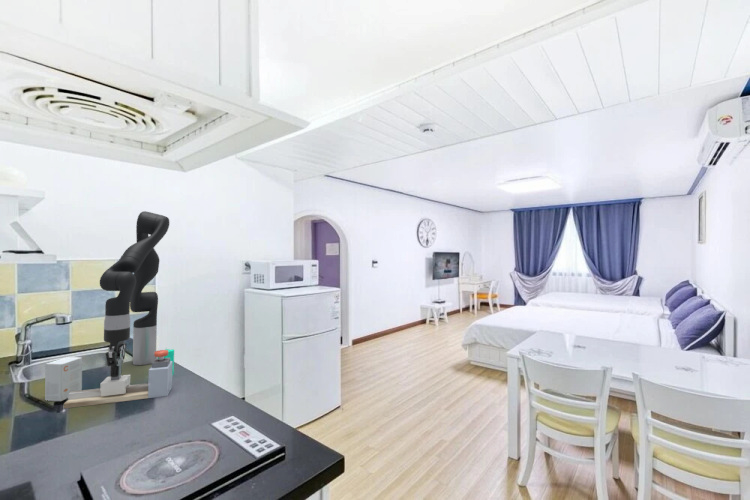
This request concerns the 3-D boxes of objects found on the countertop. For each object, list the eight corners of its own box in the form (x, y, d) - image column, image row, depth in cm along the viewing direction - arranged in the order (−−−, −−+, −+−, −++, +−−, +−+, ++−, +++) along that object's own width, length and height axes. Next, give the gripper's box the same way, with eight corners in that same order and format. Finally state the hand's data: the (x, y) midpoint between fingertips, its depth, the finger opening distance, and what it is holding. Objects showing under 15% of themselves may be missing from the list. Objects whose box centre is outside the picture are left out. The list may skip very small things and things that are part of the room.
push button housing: (154, 388, 131) (154, 357, 131) (171, 386, 133) (172, 355, 133) (148, 398, 123) (148, 364, 123) (167, 395, 125) (168, 362, 125)
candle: (176, 374, 146) (177, 346, 146) (161, 379, 141) (162, 349, 141) (169, 372, 149) (169, 344, 150) (154, 376, 144) (155, 347, 145)
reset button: (155, 359, 129) (155, 350, 129) (169, 358, 131) (169, 349, 131) (152, 363, 125) (153, 353, 125) (166, 361, 127) (166, 352, 127)
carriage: (107, 389, 125) (108, 354, 125) (130, 387, 127) (131, 352, 127) (100, 397, 118) (100, 360, 118) (124, 394, 121) (125, 358, 121)
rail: (75, 397, 122) (75, 388, 122) (154, 388, 131) (154, 379, 131) (63, 408, 114) (63, 397, 114) (148, 398, 123) (148, 388, 123)
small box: (66, 391, 127) (67, 356, 128) (82, 392, 127) (83, 357, 127) (43, 400, 119) (44, 363, 119) (61, 401, 119) (61, 364, 119)
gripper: (123, 330, 118) (122, 380, 118) (135, 322, 131) (134, 368, 131) (96, 331, 115) (95, 383, 115) (111, 323, 128) (110, 370, 128)
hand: (116, 374), depth 123 cm, fingers closed on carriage, 2 cm apart
